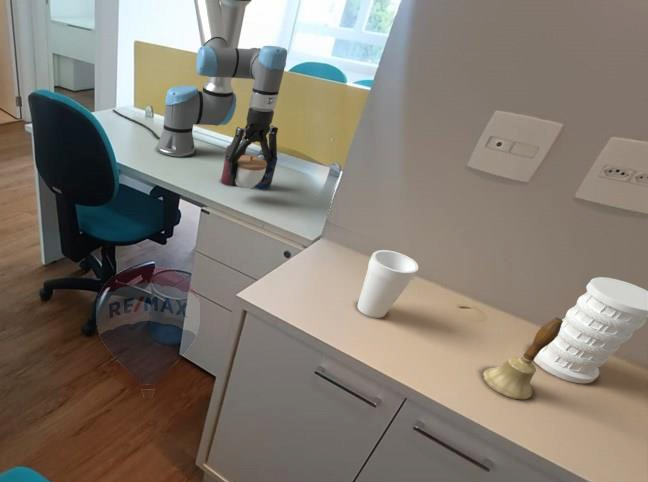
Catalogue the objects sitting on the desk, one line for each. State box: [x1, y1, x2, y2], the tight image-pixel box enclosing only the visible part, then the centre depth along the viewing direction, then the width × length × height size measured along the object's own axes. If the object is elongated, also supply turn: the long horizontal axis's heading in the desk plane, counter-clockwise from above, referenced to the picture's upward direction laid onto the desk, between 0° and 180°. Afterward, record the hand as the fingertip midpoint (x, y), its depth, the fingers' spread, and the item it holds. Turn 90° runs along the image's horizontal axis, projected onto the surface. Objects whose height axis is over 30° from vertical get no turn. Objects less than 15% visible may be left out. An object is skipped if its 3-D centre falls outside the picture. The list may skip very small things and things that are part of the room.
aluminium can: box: [220, 143, 247, 187], centre depth 155 cm, size 7×7×12 cm
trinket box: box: [235, 154, 267, 189], centre depth 143 cm, size 11×11×9 cm
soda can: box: [253, 149, 278, 191], centre depth 154 cm, size 7×7×12 cm
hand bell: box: [482, 317, 563, 400], centre depth 82 cm, size 8×8×16 cm
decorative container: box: [533, 276, 648, 384], centre depth 87 cm, size 12×12×18 cm
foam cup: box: [356, 249, 419, 319], centre depth 99 cm, size 10×9×13 cm
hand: (245, 181), depth 145 cm, fingers closed on trinket box, 11 cm apart
